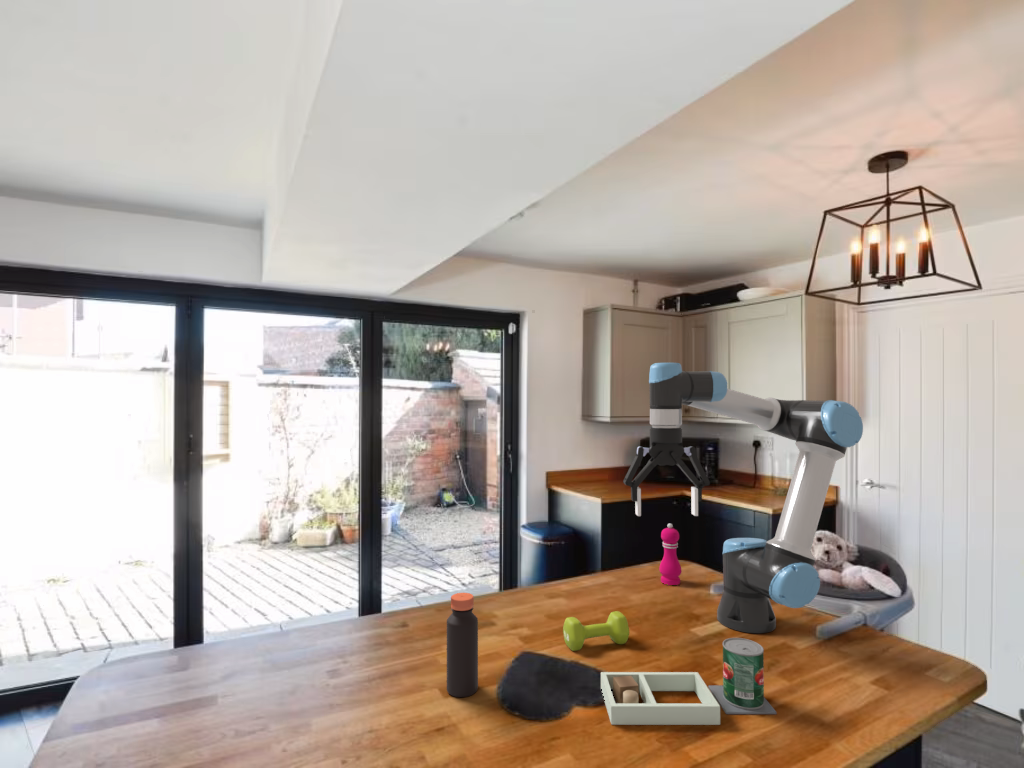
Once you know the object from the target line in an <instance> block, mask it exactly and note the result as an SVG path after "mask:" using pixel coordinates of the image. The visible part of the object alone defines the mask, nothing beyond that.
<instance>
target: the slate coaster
mask: <svg viewBox="0 0 1024 768" xmlns="http://www.w3.org/2000/svg"><path fill="white" fill-rule="evenodd" d="M707 687H708V689H709V690H710V692H711V693H712V695H713V696H714V698H715V699H716V701H717V702H718V704H719V705H720V708H721V709H722V710H723V712H724V713H725V714H726V715H777V714H778V713H777V711H776V710H775V708H774V707H773V706H772V705H771V704H770V702H769V701H768V700H767V698H766V697H764V705H763V707H761V708H759V709H755V710H748V709H742V708H738V707H736V706H733V705H731V704H730V703H728V702H727V701H726V700H725V699H724V697H723V684H721V685H719V684H718V685H714V684H713V685H712V684H711V685H710V684H709V685H708V686H707Z"/></svg>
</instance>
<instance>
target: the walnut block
mask: <svg viewBox="0 0 1024 768" xmlns="http://www.w3.org/2000/svg"><path fill="white" fill-rule="evenodd" d="M626 690H633V691H636V692H637V693H638V703H639V702H640V700H639V695H640V693H639V688H638V684H637V683H636V681H635V680H634V679H633V678H632V676H622V677H613V691H612V694H613V695H614V696H613V697H615V698H614V700H615V702H616V703H623V692H624V691H626Z"/></svg>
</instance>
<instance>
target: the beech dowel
mask: <svg viewBox="0 0 1024 768" xmlns="http://www.w3.org/2000/svg"><path fill="white" fill-rule="evenodd" d="M623 703H638V693H637V692H636V691H633V690H626V691H624V692H623Z"/></svg>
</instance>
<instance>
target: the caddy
mask: <svg viewBox="0 0 1024 768" xmlns="http://www.w3.org/2000/svg"><path fill="white" fill-rule="evenodd" d="M622 676H632V678H633V679H634V680H635V681H636V683H637V684H638V688H639V695H640V697H641V700H642V703H617V702H616V699H615V698H614V696H613V691H611V689H613V677H622ZM601 689H602V691H601V694H602V693H603V694H602V697H603V696H604V698H603V701H604V700H605V701H604V704H605V708H606V711H607V714H608V718H609V722H610V724H611V726H612V725H614V726H615V725H616V726H617V725H620V726H621V725H626V726H627V725H628V726H630V725H631V726H635V725H637V726H640V725H641V726H642V725H644V726H645V725H646V726H648V725H649V726H651V725H653V726H655V725H656V726H657V725H658V726H664V725H666V726H671V725H672V726H673V725H675V726H678V725H681V726H683V725H684V726H685V725H686V726H687V725H689V726H690V725H691V726H693V725H694V726H696V725H697V726H699V725H700V726H703V725H705V726H709V725H710V726H711V725H713V726H714V725H715V726H719V725H721V705H720V704H719V702H718V701H717V699H716V698H715V696H714V695H713V693H712V692H711V690H710V689H709V687H708V686H707V684H706V683H705V681H704V680H703V678H702V676H701V675H700V674H699V672H698V671H697V672H696V671H694V672H693V671H688V672H687V671H685V672H684V671H681V672H680V671H673V672H671V671H662V672H661V671H655V672H653V671H650V672H649V671H636V672H635V671H630V672H629V671H601V672H600V690H601ZM653 692H695V694H696V696H697V697H698V699H699V701H700V702H701V703H696V702H695V703H694V702H693V703H683V702H682V703H681V702H680V703H678V702H677V703H675V702H674V703H672V702H671V703H667V702H666V703H664V702H663V703H658V702H657V701H656V699H655V696H654V695H653Z"/></svg>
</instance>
